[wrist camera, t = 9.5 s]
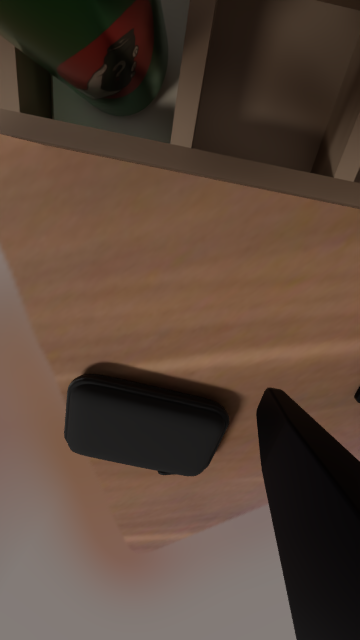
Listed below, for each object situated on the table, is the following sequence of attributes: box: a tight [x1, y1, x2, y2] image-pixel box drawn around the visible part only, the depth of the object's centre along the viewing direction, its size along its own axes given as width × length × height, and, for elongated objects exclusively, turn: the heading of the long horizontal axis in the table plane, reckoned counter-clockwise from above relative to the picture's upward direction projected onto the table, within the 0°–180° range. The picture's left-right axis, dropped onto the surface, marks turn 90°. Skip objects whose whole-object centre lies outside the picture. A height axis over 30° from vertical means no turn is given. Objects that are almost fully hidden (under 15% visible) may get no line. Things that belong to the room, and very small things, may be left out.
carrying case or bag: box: [64, 374, 229, 476], centre depth 26 cm, size 11×3×15 cm
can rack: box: [0, 0, 360, 209], centre depth 13 cm, size 10×25×4 cm, turn 80°
